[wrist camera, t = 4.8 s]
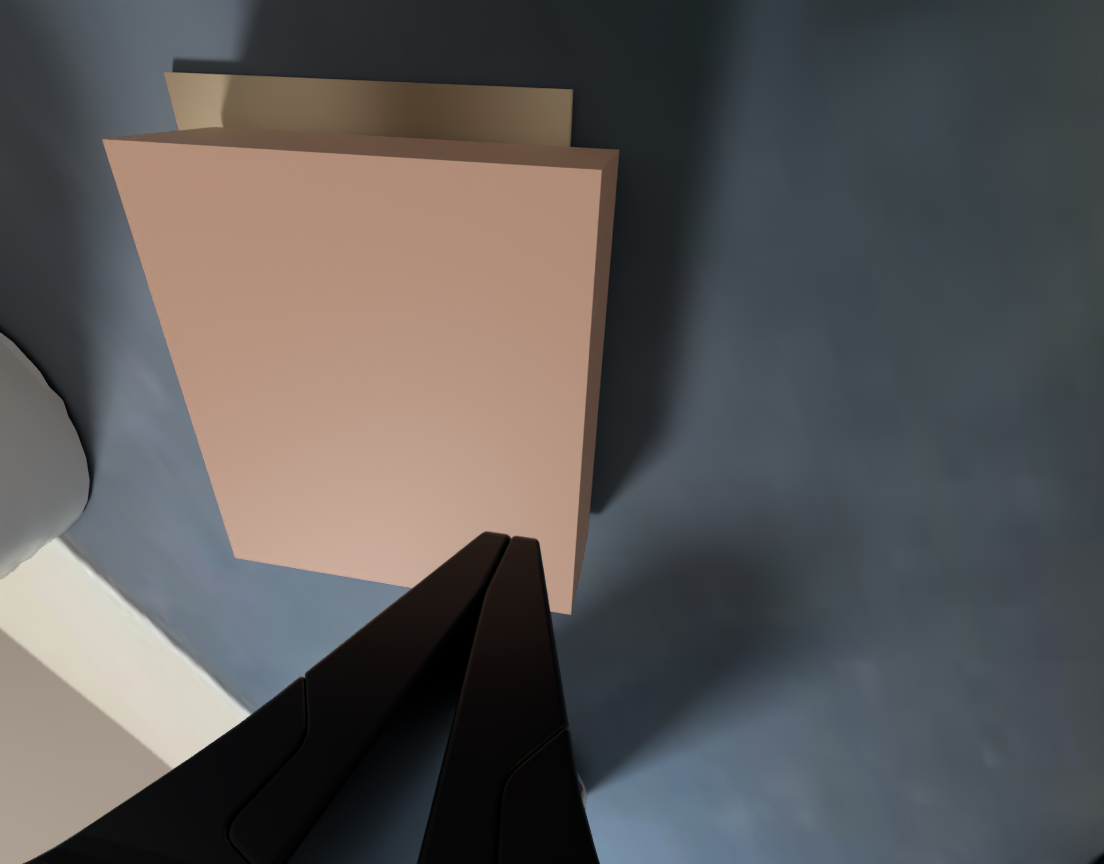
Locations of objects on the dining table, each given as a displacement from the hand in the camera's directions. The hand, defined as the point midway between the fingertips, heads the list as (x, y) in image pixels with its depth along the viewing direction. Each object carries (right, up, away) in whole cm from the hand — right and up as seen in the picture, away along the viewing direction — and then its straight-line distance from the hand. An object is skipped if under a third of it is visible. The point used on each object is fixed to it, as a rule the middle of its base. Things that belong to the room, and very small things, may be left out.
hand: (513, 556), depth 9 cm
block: (+2, +2, +4) cm, 5 cm away
